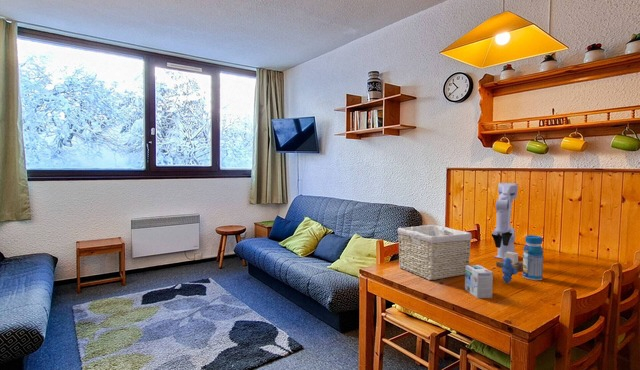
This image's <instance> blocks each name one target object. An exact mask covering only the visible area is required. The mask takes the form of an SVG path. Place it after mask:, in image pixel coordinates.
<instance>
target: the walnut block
mask: <svg viewBox="0 0 640 370" xmlns="http://www.w3.org/2000/svg"><path fill="white" fill-rule="evenodd" d="M503 260H504V259H502V260H499V261H496V265H495V266H496V267H497V268H501V269H502V268H504V267H503V265H502V264H503V263H504V261H503ZM512 265H513V267H512V268H515V269H516V270H517V271H518V272H519V271H520V270H523V261H518V263H516V264H512Z"/></svg>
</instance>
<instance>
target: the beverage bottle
mask: <svg viewBox="0 0 640 370" xmlns="http://www.w3.org/2000/svg"><path fill="white" fill-rule="evenodd" d="M525 243H526V244H525V245H524V247H523V248H522V249H523V253H522V263H523V269H522V277H523V278H524V279H527V280H531V281H541V280H542V279H543V278H544V277H543V274H544V273H543V272H544V271H543V269H544V255H543V254H544V249H543V246H542V244H543V237H542V236H539V235H533V234H531V235H530V234H526V235H525Z"/></svg>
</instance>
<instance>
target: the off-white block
mask: <svg viewBox="0 0 640 370" xmlns="http://www.w3.org/2000/svg"><path fill="white" fill-rule="evenodd" d="M505 258H509V259H511V261H512V263H511V264H516V263H518V262H519V253H518V252H515V253H513V252H506V253H504V259H505ZM504 259H503V260H504ZM504 263H505V262H504Z"/></svg>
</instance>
